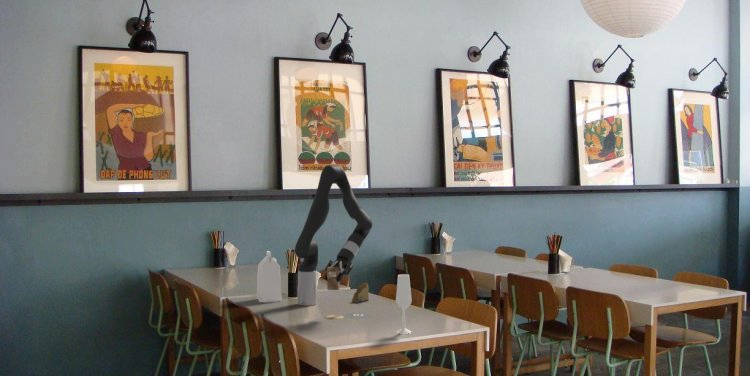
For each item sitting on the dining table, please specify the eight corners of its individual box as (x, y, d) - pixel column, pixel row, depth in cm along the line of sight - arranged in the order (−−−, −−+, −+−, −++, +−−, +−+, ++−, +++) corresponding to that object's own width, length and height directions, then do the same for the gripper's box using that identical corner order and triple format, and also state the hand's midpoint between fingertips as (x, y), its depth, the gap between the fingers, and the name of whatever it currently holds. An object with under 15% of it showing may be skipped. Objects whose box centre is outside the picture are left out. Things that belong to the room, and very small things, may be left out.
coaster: (322, 319, 333) (322, 318, 333) (325, 316, 342) (325, 315, 342) (342, 320, 332) (342, 319, 332) (344, 316, 341) (344, 315, 341)
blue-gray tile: (344, 318, 336) (344, 317, 336) (347, 313, 348) (347, 312, 348) (370, 318, 335) (370, 317, 335) (372, 313, 347) (372, 312, 347)
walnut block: (327, 289, 334) (327, 268, 334) (329, 288, 339) (328, 266, 339) (338, 290, 334) (337, 268, 334) (339, 288, 339) (339, 266, 339)
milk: (256, 299, 392) (256, 250, 392) (277, 297, 396) (277, 250, 395) (259, 302, 381) (259, 253, 381) (281, 301, 384) (281, 252, 384)
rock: (353, 299, 376) (371, 295, 378) (349, 284, 381) (367, 281, 383) (351, 308, 385) (369, 305, 387) (347, 294, 390) (365, 291, 392)
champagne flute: (411, 330, 308) (410, 273, 308) (412, 333, 301) (412, 276, 301) (395, 330, 308) (395, 274, 308) (396, 334, 301) (396, 276, 301)
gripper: (333, 246, 347) (316, 273, 338) (355, 248, 337) (338, 276, 329) (340, 256, 351) (324, 283, 342) (363, 258, 341) (346, 286, 333)
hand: (331, 280), depth 335 cm, fingers closed on walnut block, 7 cm apart
